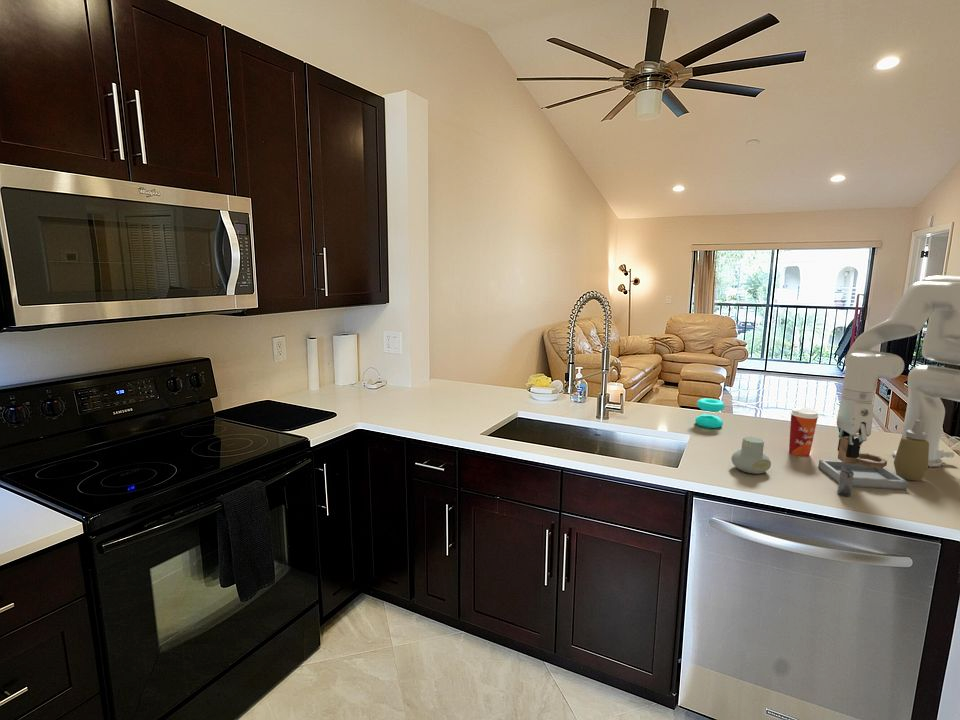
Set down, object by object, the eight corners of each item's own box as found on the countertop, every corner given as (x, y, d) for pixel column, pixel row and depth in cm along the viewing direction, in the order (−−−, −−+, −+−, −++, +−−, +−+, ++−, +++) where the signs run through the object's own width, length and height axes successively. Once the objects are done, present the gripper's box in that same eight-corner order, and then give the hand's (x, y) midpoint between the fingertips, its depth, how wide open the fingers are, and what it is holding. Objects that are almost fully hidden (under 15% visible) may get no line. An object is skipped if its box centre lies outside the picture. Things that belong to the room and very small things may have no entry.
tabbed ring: (874, 458, 158) (878, 436, 157) (891, 468, 151) (895, 445, 149) (834, 455, 160) (837, 434, 159) (848, 465, 152) (852, 443, 151)
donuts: (701, 396, 210) (727, 400, 204) (698, 419, 212) (725, 424, 206) (694, 401, 203) (721, 405, 197) (692, 425, 204) (719, 430, 199)
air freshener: (745, 477, 156) (749, 446, 154) (725, 466, 164) (728, 436, 162) (774, 473, 159) (778, 442, 157) (753, 463, 167) (757, 433, 165)
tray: (877, 470, 162) (878, 463, 162) (906, 490, 148) (907, 481, 148) (818, 467, 164) (819, 459, 164) (841, 485, 151) (843, 477, 150)
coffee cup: (799, 458, 171) (805, 415, 168) (779, 450, 179) (784, 408, 176) (819, 456, 173) (826, 413, 170) (799, 447, 181) (804, 406, 178)
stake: (845, 491, 147) (849, 466, 146) (853, 498, 143) (857, 473, 142) (833, 490, 148) (837, 466, 146) (842, 497, 143) (845, 472, 142)
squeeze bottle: (910, 471, 161) (920, 416, 158) (933, 482, 153) (944, 424, 150) (884, 471, 161) (894, 416, 158) (906, 483, 153) (916, 424, 150)
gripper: (889, 403, 143) (878, 466, 147) (855, 389, 160) (846, 445, 163) (859, 402, 144) (849, 464, 148) (828, 388, 161) (820, 444, 164)
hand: (847, 453), depth 155 cm, fingers closed on tabbed ring, 3 cm apart
